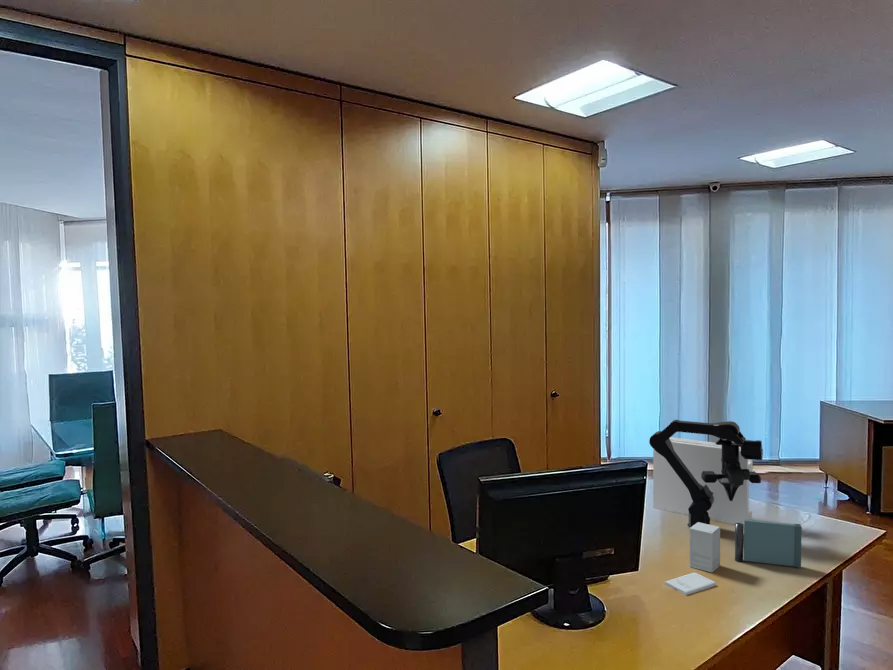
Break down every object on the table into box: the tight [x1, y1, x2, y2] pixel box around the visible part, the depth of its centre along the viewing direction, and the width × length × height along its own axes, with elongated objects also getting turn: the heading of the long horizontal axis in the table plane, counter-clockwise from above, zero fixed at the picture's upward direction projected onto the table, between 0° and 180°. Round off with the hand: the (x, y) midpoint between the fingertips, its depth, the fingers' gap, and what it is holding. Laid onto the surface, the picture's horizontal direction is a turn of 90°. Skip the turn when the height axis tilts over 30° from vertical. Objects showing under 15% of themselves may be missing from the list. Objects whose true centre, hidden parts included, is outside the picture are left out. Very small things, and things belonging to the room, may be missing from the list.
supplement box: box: [688, 522, 721, 573], centre depth 201 cm, size 7×7×13 cm
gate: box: [743, 519, 803, 569], centre depth 201 cm, size 16×2×13 cm, turn 70°
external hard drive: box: [663, 571, 717, 596], centre depth 189 cm, size 2×8×12 cm
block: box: [652, 436, 754, 527], centre depth 248 cm, size 35×8×28 cm, turn 51°
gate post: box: [734, 523, 744, 563], centre depth 205 cm, size 2×2×12 cm
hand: (730, 500), depth 227 cm, fingers closed
